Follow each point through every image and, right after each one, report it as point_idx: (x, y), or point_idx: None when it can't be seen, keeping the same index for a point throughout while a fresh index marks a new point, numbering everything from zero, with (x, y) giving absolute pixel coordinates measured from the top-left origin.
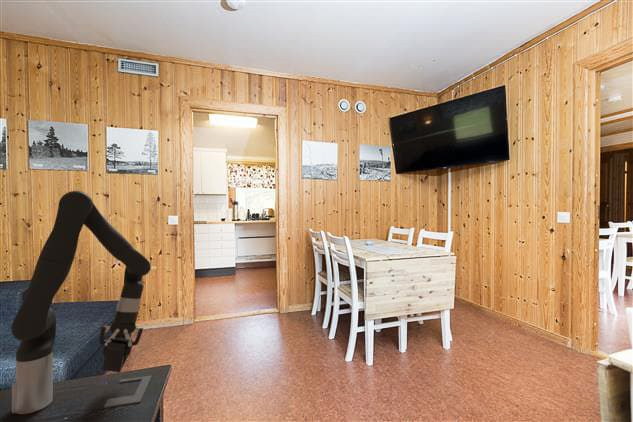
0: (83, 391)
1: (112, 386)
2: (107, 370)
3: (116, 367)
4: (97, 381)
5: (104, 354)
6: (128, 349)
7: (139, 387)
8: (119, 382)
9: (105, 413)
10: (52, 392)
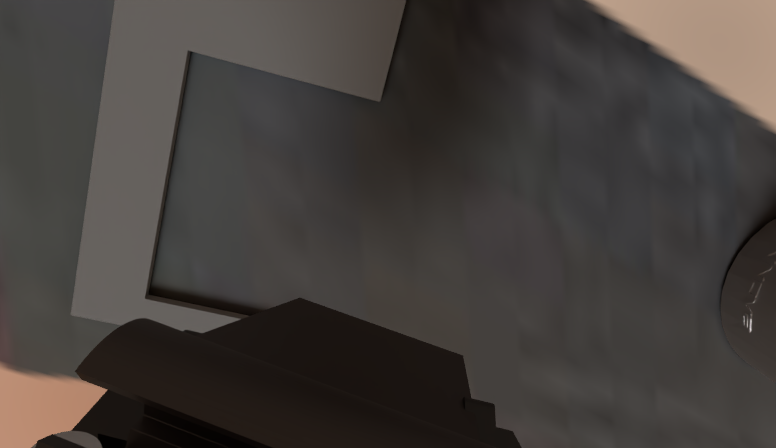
0: (547, 328)
1: (364, 302)
2: (415, 339)
3: (330, 319)
4: None
5: (492, 419)
6: (125, 400)
7: (154, 159)
8: None
9: None
10: (756, 330)
